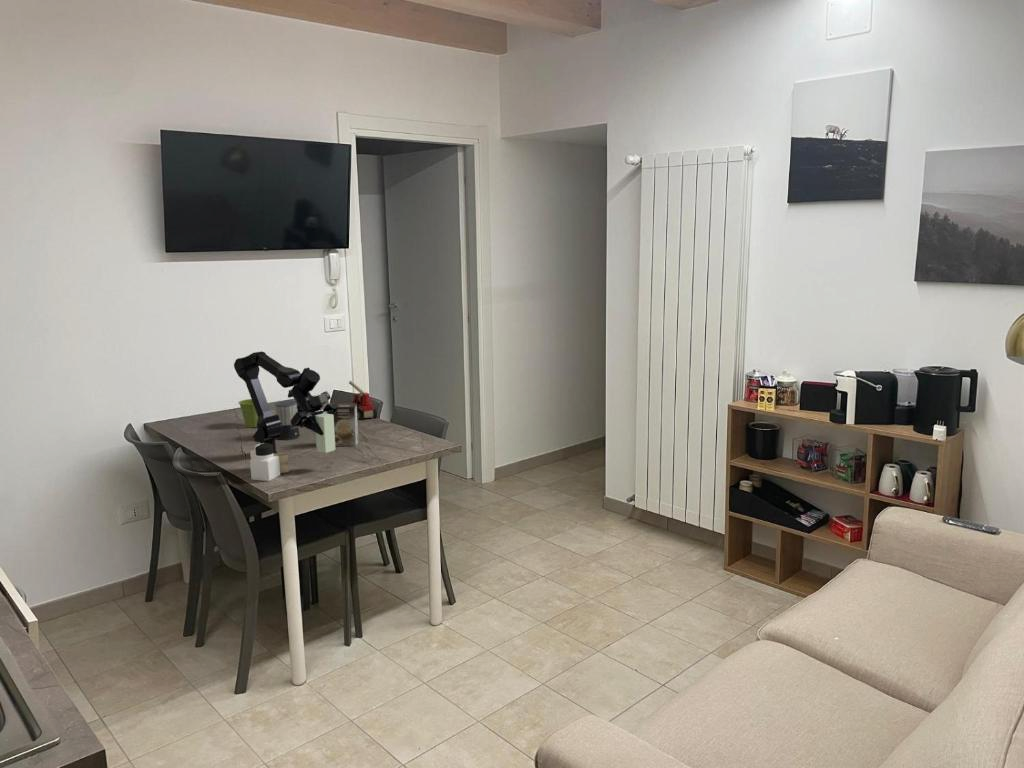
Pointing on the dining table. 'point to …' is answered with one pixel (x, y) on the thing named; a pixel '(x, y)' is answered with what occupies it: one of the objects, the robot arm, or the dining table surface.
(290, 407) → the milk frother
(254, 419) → the plant pot
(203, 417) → the dining table surface
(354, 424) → the coffee box
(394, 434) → the dining table surface
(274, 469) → the medicine bottle
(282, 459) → the birch block
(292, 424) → the robot arm
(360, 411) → the toy fire truck
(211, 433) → the dining table surface
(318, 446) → the sage block
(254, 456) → the plastic canister
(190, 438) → the dining table surface
